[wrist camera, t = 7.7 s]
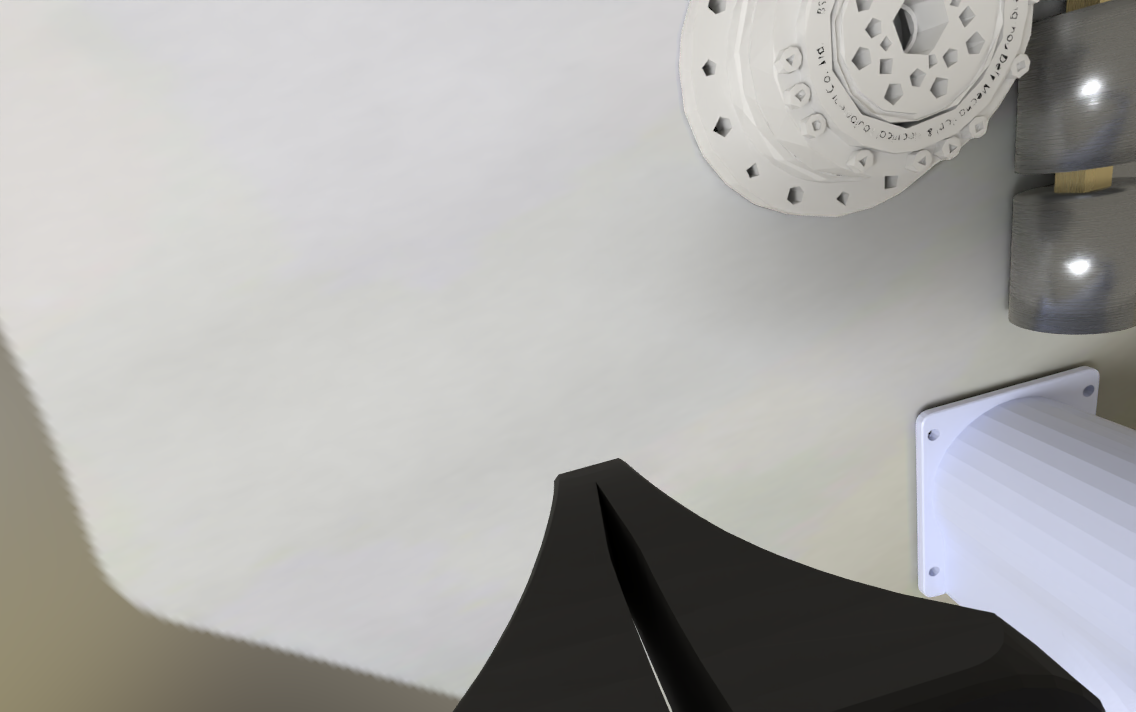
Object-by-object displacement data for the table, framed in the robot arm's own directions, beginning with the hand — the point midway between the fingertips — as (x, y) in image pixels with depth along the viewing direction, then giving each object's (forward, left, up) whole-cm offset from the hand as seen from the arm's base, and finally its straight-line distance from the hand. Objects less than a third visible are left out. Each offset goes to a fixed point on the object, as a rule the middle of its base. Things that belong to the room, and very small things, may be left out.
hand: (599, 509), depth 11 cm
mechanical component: (+8, -11, -10) cm, 17 cm away
